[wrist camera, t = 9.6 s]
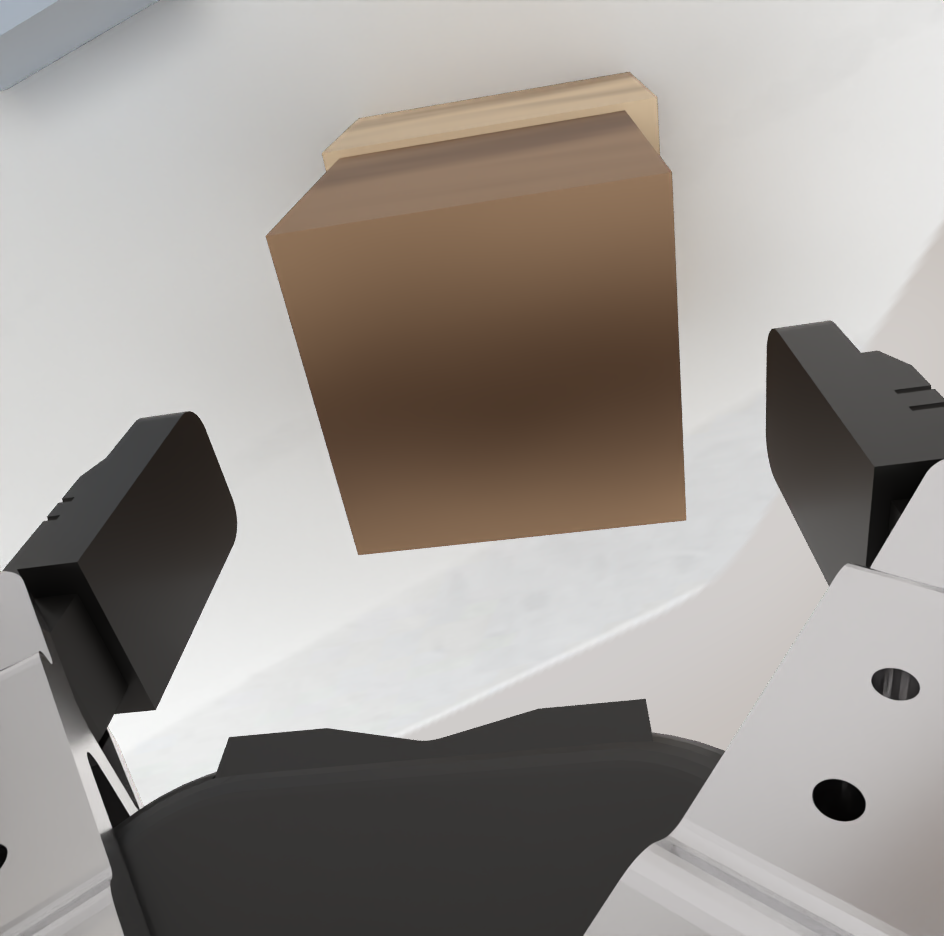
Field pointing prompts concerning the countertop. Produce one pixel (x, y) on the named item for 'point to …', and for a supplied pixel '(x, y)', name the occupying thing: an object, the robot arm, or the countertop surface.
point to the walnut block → (493, 334)
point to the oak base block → (501, 115)
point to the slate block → (53, 31)
